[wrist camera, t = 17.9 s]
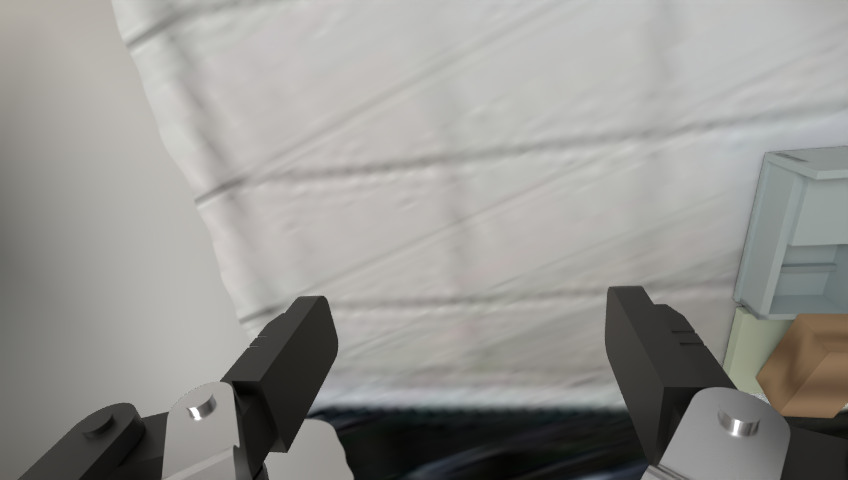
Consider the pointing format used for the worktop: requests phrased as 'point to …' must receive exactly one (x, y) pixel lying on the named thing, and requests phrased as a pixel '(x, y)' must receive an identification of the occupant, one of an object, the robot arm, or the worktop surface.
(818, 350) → the walnut bar
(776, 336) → the plate
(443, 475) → the worktop surface
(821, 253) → the pale blue tray
